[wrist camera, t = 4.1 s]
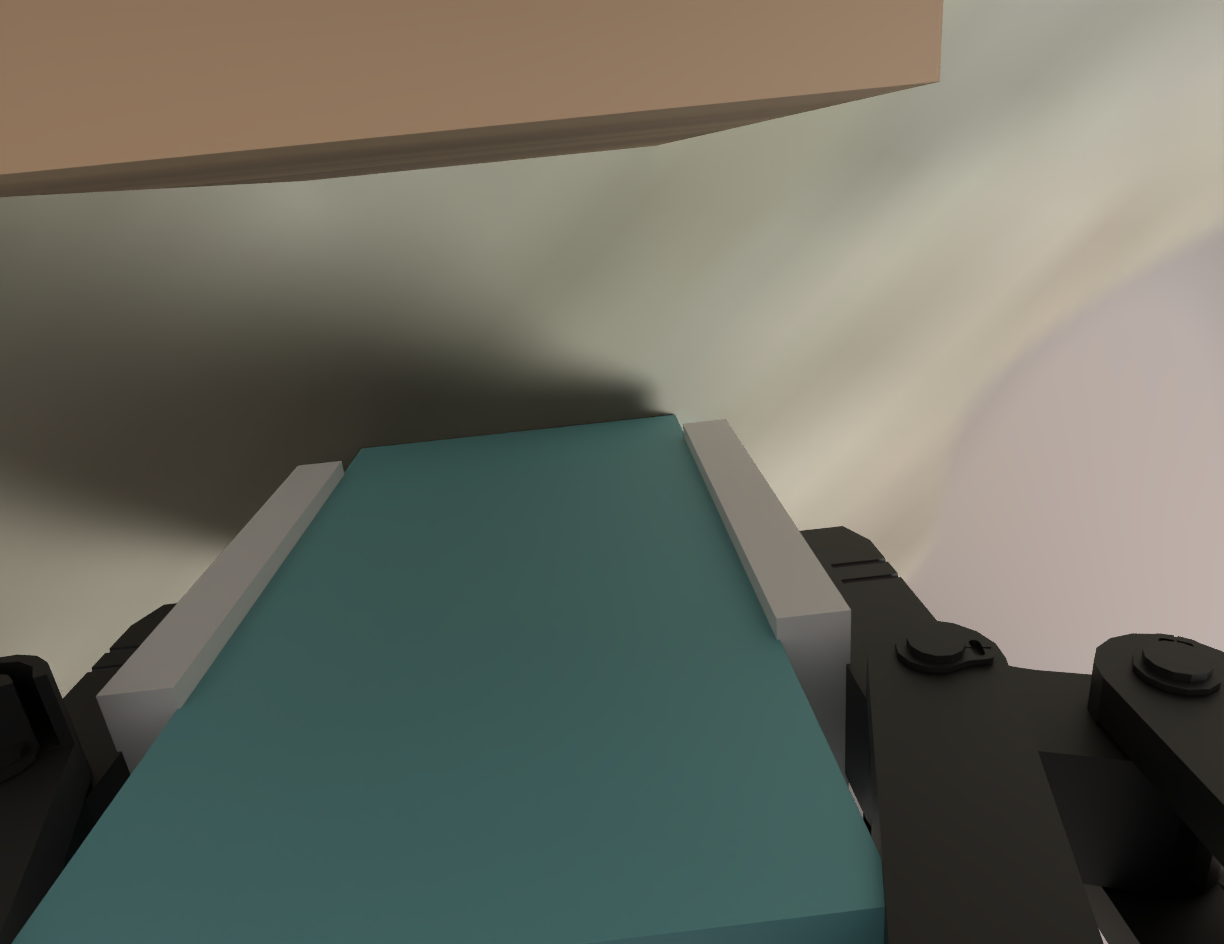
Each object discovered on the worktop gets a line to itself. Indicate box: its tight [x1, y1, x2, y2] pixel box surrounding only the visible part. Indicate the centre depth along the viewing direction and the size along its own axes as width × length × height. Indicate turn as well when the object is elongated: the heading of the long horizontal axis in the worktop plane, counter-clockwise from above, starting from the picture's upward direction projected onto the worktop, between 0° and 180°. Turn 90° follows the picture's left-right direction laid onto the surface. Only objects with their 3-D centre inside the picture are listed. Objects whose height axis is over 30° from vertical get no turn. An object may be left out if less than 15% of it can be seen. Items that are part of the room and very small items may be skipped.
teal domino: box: [11, 415, 885, 944], centre depth 11 cm, size 2×6×11 cm, turn 95°
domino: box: [0, 0, 943, 197], centre depth 8 cm, size 2×6×11 cm, turn 95°
